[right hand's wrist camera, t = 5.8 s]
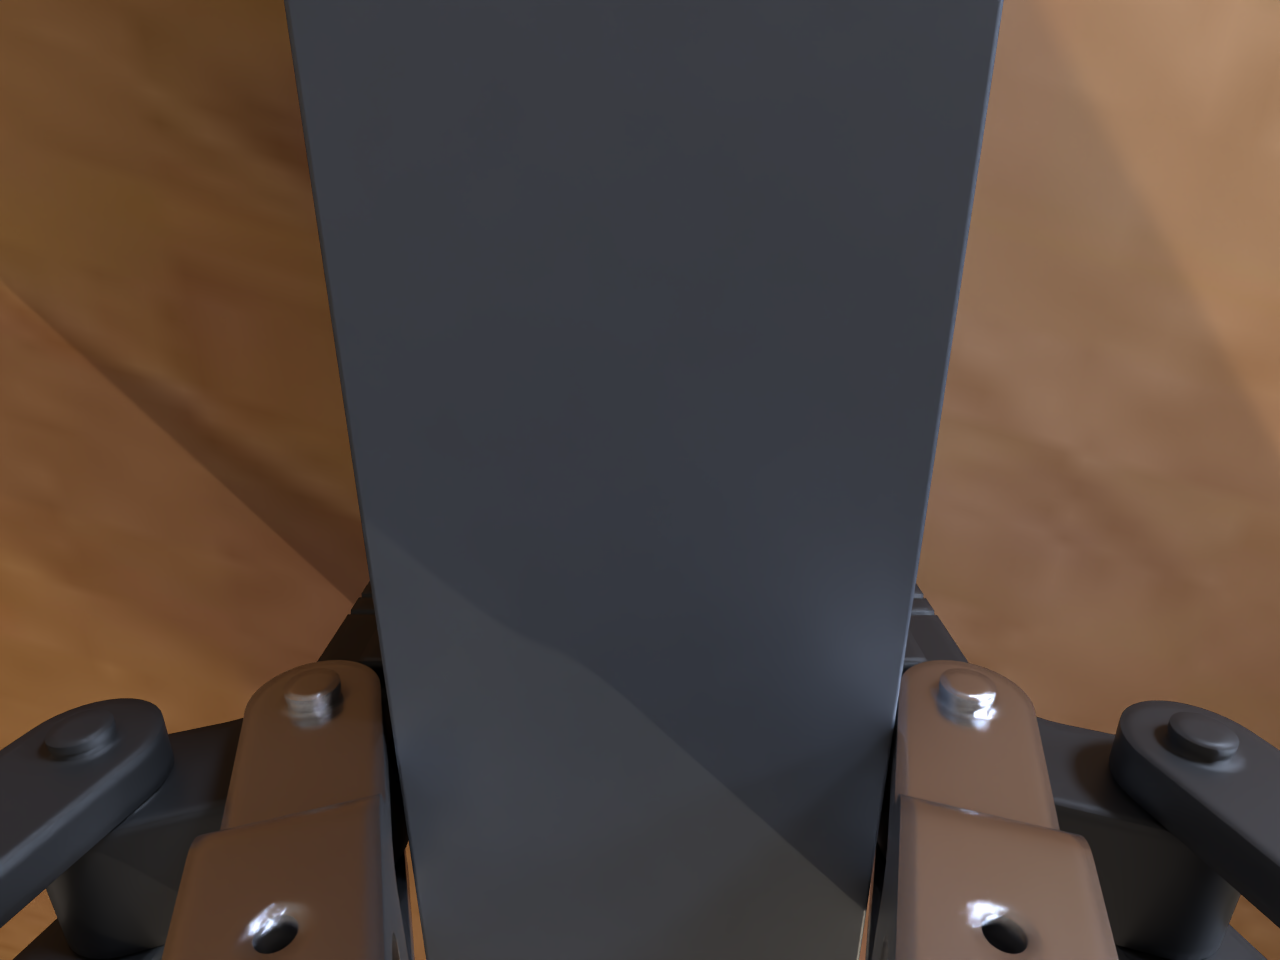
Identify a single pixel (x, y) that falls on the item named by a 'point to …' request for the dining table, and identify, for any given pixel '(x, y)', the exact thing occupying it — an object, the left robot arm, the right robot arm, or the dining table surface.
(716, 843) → the bar
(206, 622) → the dining table surface
